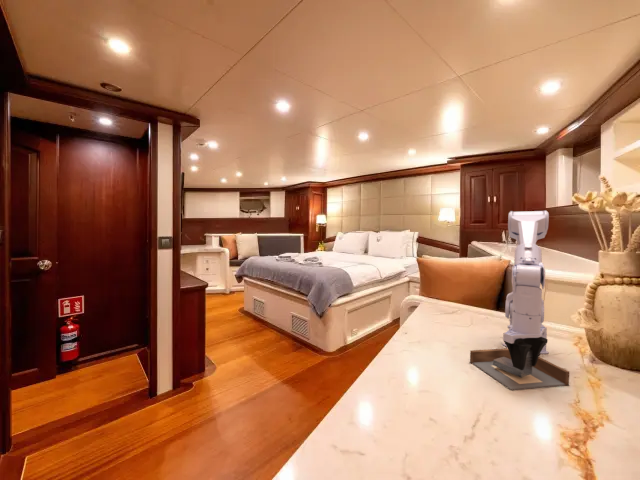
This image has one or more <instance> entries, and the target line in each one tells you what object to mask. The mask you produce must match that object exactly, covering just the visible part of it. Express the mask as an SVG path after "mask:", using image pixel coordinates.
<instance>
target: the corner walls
mask: <svg viewBox="0 0 640 480" xmlns="http://www.w3.org/2000/svg"><path fill="white" fill-rule="evenodd" d="M469 351H470V352H469V362H471V364H472V363H473V362H488V361H493V360H494V359H497V358H501V357H506V358H508V359H511V356H510V352H509V350H508V348H507V347H505V348H493V349H492V348H491V349H474V350H473V349H472V350H469ZM533 367H534V368H536V369H538V370H540V371H542V372H544V373H546V374H547V375H549V376H551V377H553V378H555V379H557V380H559V381H560V382H562V383H564V384H567V385H568V384H569V385H570V371H568V370H567V369H565V368H563V367H560V366H559V365H556V364H554V363H552V362H550V361H548V360H546V359H544V358H542V357H541V356H539V357H538V360H537V363H536V365H535V366H533ZM569 385H568V386H569Z"/></svg>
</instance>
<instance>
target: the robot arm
mask: <svg viewBox="0 0 640 480" xmlns="http://www.w3.org/2000/svg"><path fill="white" fill-rule="evenodd" d="M549 217H550V214H549V212H548V211H547V210H546V209H545V210H534V211H532V210H531V211H530V210H529V211H528V210H527V211H513V210H510V211H509V212H508V217H507V218H508V219H507V220H508V221H507V230H508V235H509V238H511V239H514V240H516V243H517V246H516V247H515V249H514V259H513V260H514V261H513V262H514V263H513V265H512V266H511V286H512V291H511V292H509V293H507V295H506V298H505V299H506V300H505V308H504V315H505V318H506V319H509V324H508V325H507V330H506V332H503V334H502V335H503V338H502V340H503V343H502V344H501V345H502V346H503V347H505V348H508V350H509V352H510V356H511V360H512V364H513V367H515V368H517V369H520V370H523V369H524V367H525V362H526V357H527V353H528V351H529V349H530V350H533V355H532V366H535V365H536V363H537V360H538V357H540V356H541V355H546V354H547V355H549V353H550V352H549V351H548V350H547V344H548V341H549V340H548V339H547V338H548V334H547V332H548V328H547V327H546V326H544V324H543V323H544V321H545V305H544V304H545V302H544V299H543V295H542V294H543V290H544V288H545V284H546V269H545V265H544V262H543V261H542V258H543V257H542V249H541V247H540V246H538V244H537V241H538V240H541V239H545V237H546V235H547V233H548V230H549V223H550V222H549V219H550V218H549ZM541 288H542V289H541Z"/></svg>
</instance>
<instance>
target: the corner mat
mask: <svg viewBox="0 0 640 480" xmlns="http://www.w3.org/2000/svg"><path fill="white" fill-rule="evenodd" d="M469 362H470V361H469ZM470 363H471V362H470ZM471 364H472V365H473V366H474V367H476V368H477V369H479V370H481V371H482V372H484V373H485V374H486V375H488V376H489V377H490V378H492V379H493V380H495V381H497V382H498V383H499V384H501V385H503V386H504V387H505V388H507V389H508V390H509V391H518V390H520V391H521V390H529V389H530V390H531V389H543V388H554V387H555V388H556V387H566V386H570V383H569V384H568V385H567V384H564V383H562V382H560V381H559V380H557V379H555V378H553V377H551V376H549V375H547V374H546V373H544V372H542V371H540V370H538V369H536V368H534V367H533V366H532V374H530V375H527V376H524V377H522V378H521V377H519V376H516V375H514V374H512V373H510V372H507V371H505V370H503V369H501V368H498V367H496V366H494V365H493V361H488V362H473V363H471Z"/></svg>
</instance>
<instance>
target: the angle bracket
mask: <svg viewBox="0 0 640 480" xmlns="http://www.w3.org/2000/svg"><path fill="white" fill-rule="evenodd" d="M532 355H533V350H530V349H529V351H528V353H527V357H526V362H525V367H524V369H523V370H520V369H517V368H515V367H513V364H512V360H511V359H508V358H506V357H501V358H497V359H494V360H493V365H494V366H496V367H498V368H501V369H503V370H505V371H507V372H510V373H512V374H514V375H516V376H519V377H521V378H522V377H524V376H527V375H530V374H532Z"/></svg>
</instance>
